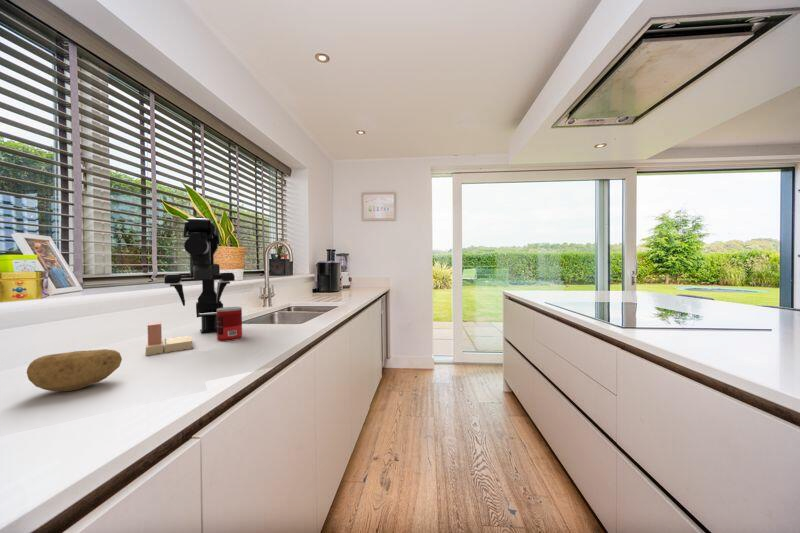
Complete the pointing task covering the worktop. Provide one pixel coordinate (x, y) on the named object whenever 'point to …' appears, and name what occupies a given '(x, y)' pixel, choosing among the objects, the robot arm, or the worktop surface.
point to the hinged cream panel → (178, 343)
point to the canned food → (229, 323)
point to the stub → (154, 339)
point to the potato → (73, 369)
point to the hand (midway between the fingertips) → (201, 304)
